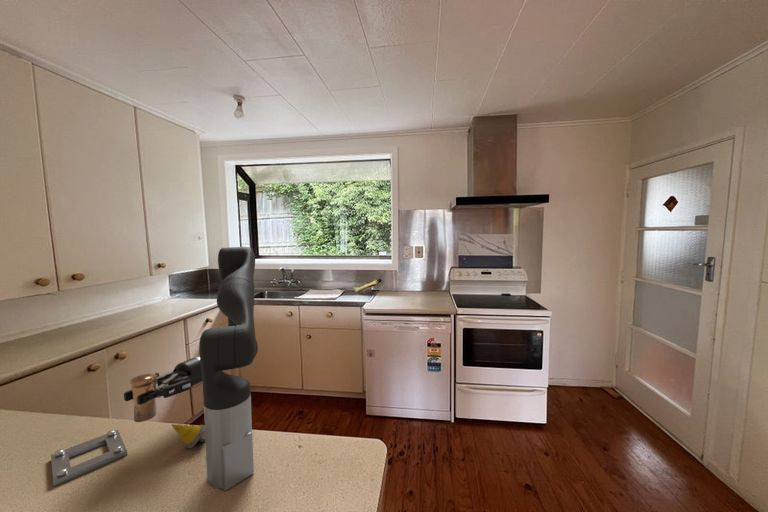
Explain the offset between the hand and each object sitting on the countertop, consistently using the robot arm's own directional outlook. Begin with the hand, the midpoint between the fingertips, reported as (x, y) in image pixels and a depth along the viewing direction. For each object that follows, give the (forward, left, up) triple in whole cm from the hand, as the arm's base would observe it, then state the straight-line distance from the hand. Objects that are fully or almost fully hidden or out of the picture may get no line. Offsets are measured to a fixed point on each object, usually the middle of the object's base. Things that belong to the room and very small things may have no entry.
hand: (131, 399), depth 71 cm
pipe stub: (+1, -3, -6) cm, 7 cm away
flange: (+7, +7, -14) cm, 17 cm away
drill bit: (-8, -10, -14) cm, 19 cm away
